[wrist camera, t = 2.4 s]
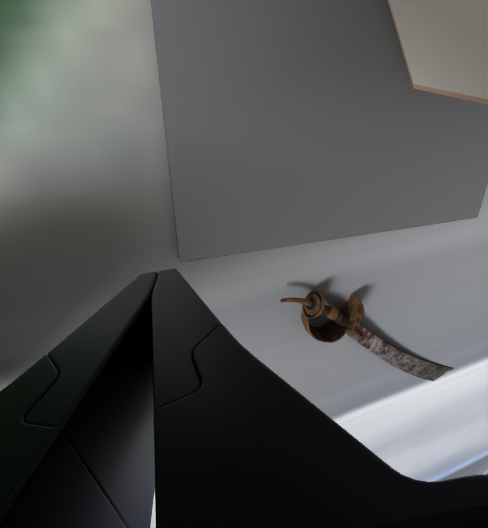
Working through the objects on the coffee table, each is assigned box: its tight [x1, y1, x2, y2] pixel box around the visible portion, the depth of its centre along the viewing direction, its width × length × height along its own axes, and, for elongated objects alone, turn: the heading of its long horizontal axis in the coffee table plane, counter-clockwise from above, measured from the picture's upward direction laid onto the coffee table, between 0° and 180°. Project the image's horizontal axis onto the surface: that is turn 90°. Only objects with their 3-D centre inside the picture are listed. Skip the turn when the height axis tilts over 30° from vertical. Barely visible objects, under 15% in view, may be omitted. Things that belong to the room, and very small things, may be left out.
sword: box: [281, 291, 453, 381], centre depth 32 cm, size 25×4×2 cm, turn 54°
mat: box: [151, 0, 488, 262], centre depth 21 cm, size 18×20×1 cm
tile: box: [387, 0, 488, 105], centre depth 17 cm, size 2×6×9 cm, turn 31°
